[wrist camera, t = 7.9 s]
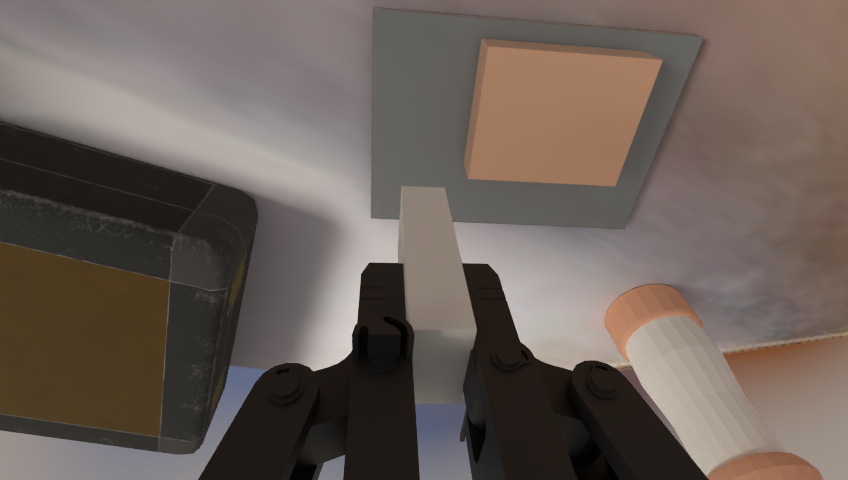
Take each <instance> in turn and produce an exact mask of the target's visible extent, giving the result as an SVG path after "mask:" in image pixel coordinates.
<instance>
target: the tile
mask: <svg viewBox="0 0 848 480" xmlns="http://www.w3.org/2000/svg"><path fill="white" fill-rule="evenodd" d="M662 61H663V60H662V59H659V58H657V57H655V56H653V55H650V54H648V53H646V52H644V51H635V50H622V49H610V48H597V47H585V46H572V45H560V44H547V43H534V42H522V41H509V40H497V39H484V38H481V45H480V52H479V59H478V66H477V73H476V80H475V87H474V94H473V101H472V108H471V114H470V121H469V128H468V135H467V142H466V149H465V156H464V167H465V170H466V174H467V177H468V179H480V180H499V181H519V182H538V183H557V184H577V185H596V186H616V183H617V180H618V178H619V175H620V172H621V170H622V167H623V164H624V162H625V159H626V157H627V154H628V151H629V149H630V146H631V143H632V141H633V138H634V135H635V133H636V130H637V127H638V125H639V122H640V119H641V117H642V114H643V111H644V109H645V106H646V103H647V101H648V98H649V96H650V93H651V90H652V88H653V85H654V82H655V80H656V77H657V74H658V72H659V69H660V66H661V64H662Z"/></svg>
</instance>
